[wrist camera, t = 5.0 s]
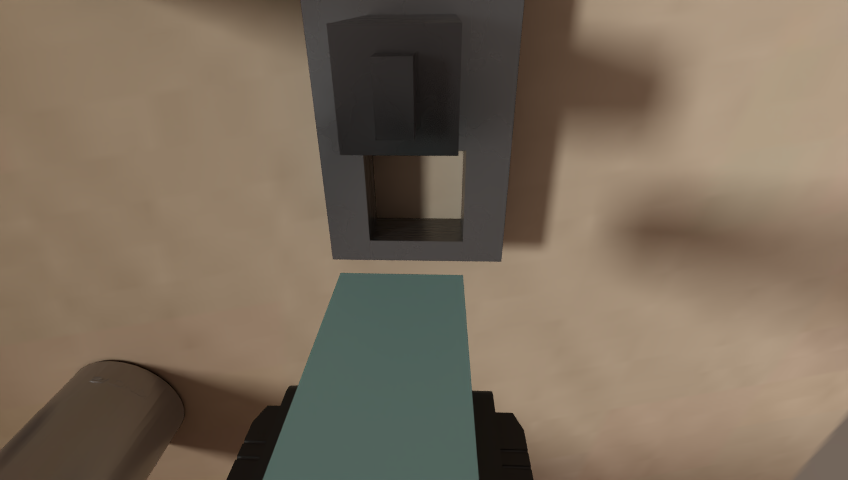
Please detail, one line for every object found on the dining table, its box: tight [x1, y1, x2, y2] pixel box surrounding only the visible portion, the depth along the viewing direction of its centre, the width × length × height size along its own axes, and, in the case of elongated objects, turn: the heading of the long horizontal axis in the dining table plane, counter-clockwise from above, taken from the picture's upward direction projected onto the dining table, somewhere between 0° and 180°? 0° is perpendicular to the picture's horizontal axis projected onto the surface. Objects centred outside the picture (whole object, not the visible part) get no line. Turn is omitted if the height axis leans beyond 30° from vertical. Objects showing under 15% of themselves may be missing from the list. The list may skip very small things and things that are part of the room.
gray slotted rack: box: [300, 0, 524, 262], centre depth 18 cm, size 22×10×12 cm, turn 0°
